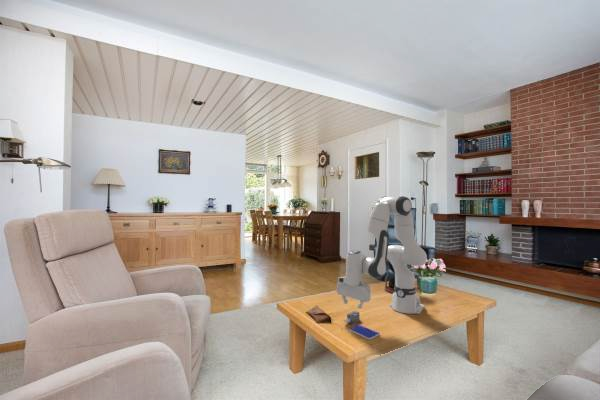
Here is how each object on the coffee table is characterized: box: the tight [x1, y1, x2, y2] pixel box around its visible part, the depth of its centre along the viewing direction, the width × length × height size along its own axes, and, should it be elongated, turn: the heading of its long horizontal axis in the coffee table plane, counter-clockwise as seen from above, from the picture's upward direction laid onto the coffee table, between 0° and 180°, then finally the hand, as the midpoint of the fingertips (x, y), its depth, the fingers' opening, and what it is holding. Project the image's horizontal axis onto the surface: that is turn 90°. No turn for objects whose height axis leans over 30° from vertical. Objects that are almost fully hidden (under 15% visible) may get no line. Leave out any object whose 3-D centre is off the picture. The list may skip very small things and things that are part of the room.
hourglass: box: [384, 259, 408, 295], centre depth 213 cm, size 16×16×25 cm
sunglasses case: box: [305, 305, 332, 324], centre depth 162 cm, size 18×7×7 cm
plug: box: [343, 310, 360, 325], centre depth 156 cm, size 11×4×4 cm, turn 136°
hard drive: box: [349, 324, 380, 340], centre depth 143 cm, size 2×8×12 cm
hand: (352, 305), depth 156 cm, fingers open, 8 cm apart
